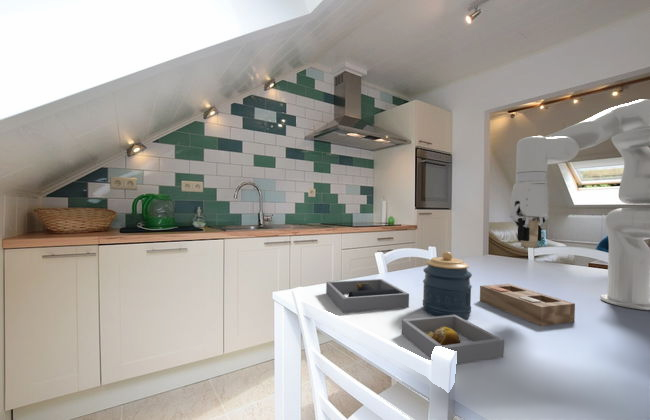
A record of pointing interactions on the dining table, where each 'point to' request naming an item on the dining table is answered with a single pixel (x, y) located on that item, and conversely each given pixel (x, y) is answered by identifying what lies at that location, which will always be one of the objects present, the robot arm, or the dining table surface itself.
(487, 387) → the dining table surface
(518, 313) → the socket block
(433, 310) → the canister
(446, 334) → the fruit
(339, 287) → the tray
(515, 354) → the dining table surface
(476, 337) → the fruit corral
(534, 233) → the peg
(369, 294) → the pipe connector
